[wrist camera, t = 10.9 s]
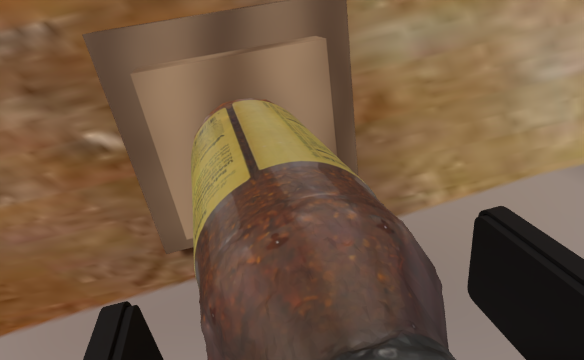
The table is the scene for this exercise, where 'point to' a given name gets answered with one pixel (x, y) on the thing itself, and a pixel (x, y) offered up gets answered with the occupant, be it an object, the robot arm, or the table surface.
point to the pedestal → (221, 88)
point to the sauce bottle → (302, 250)
